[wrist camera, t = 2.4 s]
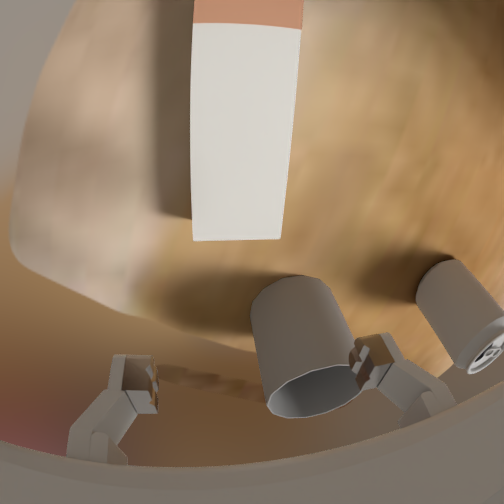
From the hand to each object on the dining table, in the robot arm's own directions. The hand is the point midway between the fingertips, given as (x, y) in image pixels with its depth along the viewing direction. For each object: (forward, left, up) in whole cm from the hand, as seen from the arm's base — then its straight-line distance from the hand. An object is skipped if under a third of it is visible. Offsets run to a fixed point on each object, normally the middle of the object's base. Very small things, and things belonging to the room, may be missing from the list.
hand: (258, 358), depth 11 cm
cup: (-6, +11, -14) cm, 19 cm away
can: (-24, +9, -14) cm, 30 cm away
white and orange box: (0, -7, -14) cm, 15 cm away
